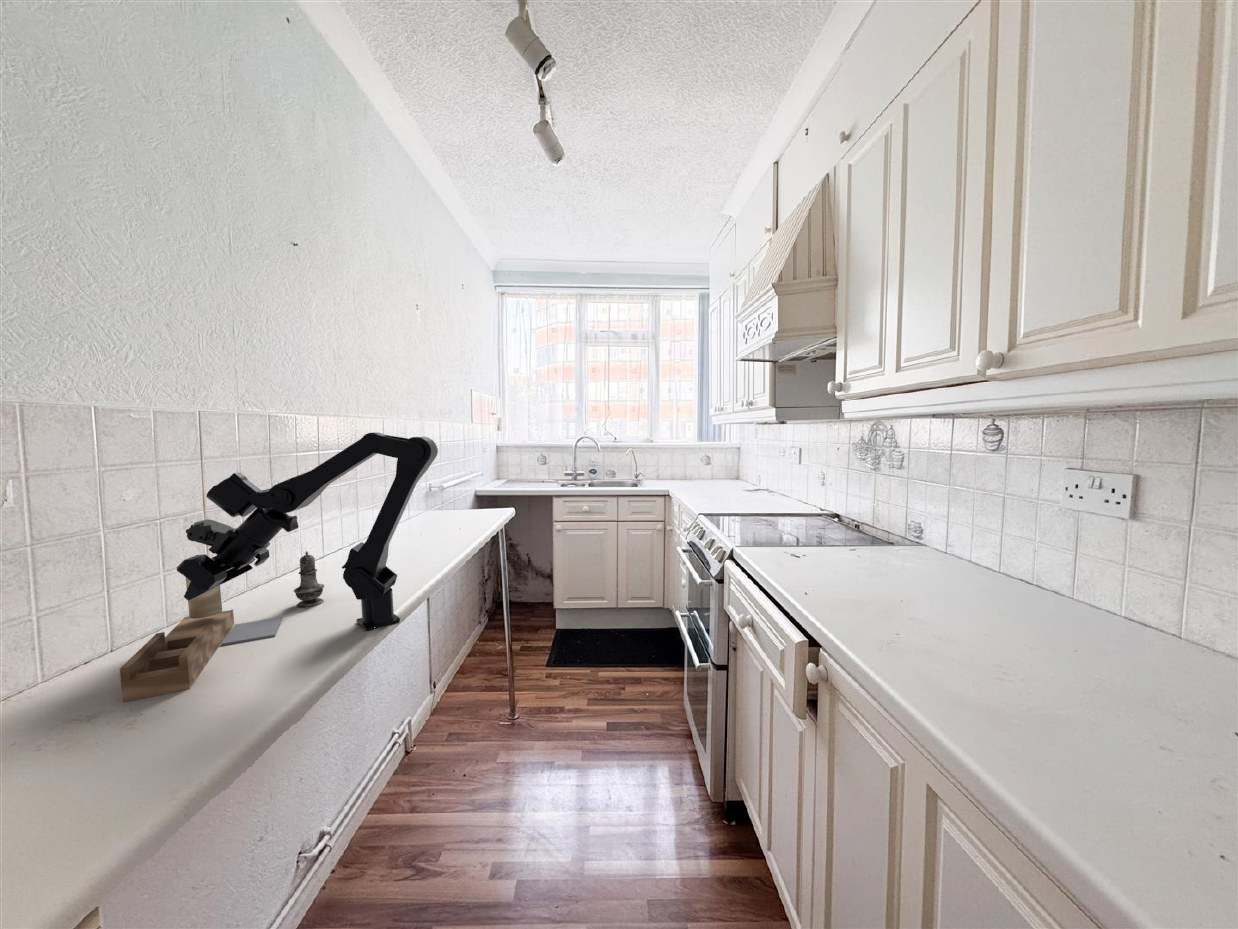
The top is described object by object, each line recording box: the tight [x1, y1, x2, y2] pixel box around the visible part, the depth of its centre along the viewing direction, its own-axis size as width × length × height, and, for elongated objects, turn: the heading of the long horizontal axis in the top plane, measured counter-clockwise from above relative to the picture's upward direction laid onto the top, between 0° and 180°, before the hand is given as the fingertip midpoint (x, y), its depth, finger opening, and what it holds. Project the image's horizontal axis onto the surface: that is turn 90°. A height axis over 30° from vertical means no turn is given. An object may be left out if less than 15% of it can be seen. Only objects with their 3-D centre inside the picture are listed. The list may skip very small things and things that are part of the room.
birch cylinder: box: [185, 577, 223, 619], centre depth 93 cm, size 5×5×8 cm
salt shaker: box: [293, 550, 325, 609], centre depth 109 cm, size 6×6×12 cm
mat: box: [221, 616, 284, 646], centre depth 95 cm, size 10×8×1 cm
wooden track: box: [119, 609, 235, 703], centre depth 84 cm, size 28×8×5 cm, turn 27°
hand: (196, 594), depth 93 cm, fingers closed on birch cylinder, 5 cm apart
